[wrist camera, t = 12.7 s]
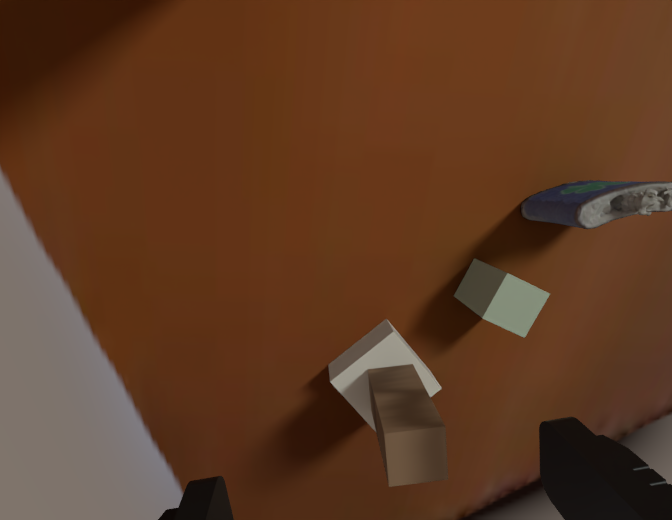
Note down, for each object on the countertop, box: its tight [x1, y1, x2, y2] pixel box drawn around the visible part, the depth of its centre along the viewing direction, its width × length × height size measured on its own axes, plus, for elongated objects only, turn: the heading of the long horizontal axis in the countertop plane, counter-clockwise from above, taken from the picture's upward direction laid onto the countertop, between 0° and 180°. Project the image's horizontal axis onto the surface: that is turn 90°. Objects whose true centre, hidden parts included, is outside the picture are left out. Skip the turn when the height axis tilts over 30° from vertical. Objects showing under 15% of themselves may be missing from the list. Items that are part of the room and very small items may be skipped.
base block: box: [328, 319, 442, 432], centre depth 41 cm, size 8×8×4 cm
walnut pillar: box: [367, 364, 448, 487], centre depth 34 cm, size 4×4×10 cm
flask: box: [521, 180, 672, 229], centre depth 35 cm, size 9×3×11 cm, turn 103°
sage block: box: [454, 258, 550, 338], centre depth 38 cm, size 4×4×7 cm
